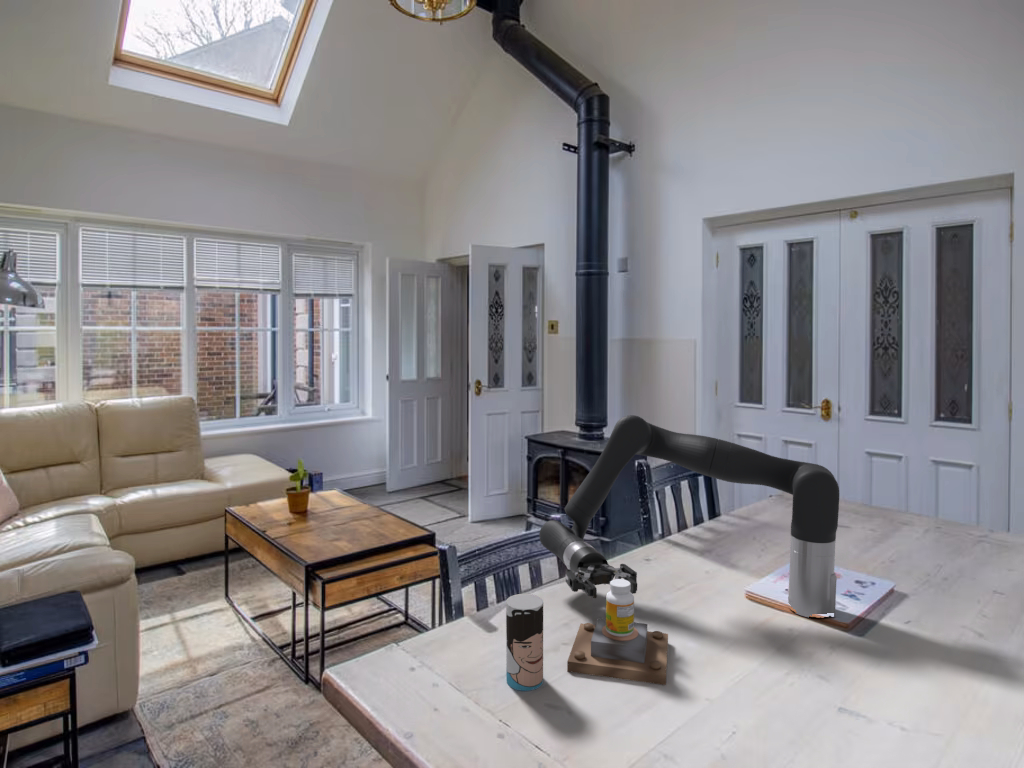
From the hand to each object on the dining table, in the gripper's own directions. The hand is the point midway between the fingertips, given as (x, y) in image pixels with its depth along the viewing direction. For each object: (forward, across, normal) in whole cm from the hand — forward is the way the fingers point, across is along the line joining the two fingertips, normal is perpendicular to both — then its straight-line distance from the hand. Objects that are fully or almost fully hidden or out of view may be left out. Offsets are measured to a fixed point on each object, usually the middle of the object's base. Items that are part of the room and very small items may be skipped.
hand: (615, 591), depth 126 cm
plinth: (+3, 0, +12) cm, 13 cm away
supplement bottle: (+2, 0, +7) cm, 8 cm away
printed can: (+6, -20, +12) cm, 24 cm away
